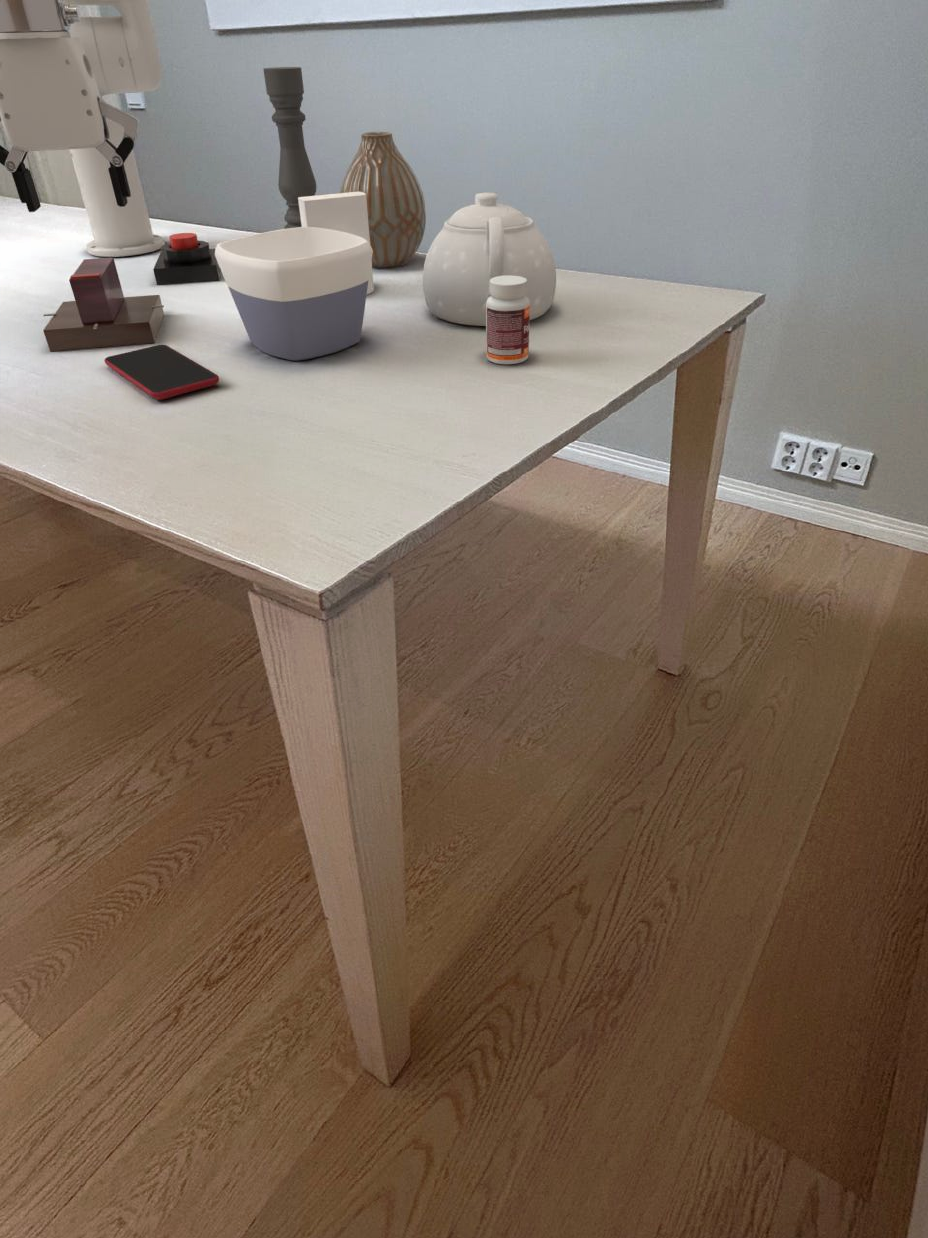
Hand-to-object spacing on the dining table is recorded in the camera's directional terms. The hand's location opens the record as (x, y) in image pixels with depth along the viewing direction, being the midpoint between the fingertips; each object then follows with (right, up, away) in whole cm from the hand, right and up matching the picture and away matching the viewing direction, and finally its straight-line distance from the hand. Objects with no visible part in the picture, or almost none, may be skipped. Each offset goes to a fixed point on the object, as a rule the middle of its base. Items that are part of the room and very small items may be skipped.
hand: (79, 207), depth 91 cm
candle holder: (+18, +15, +43) cm, 49 cm away
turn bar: (0, -9, +7) cm, 12 cm away
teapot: (+48, -7, +12) cm, 50 cm away
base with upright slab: (+27, -1, +22) cm, 35 cm away
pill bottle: (+49, -18, -2) cm, 52 cm away
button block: (+2, +6, +31) cm, 31 cm away
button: (+2, +9, +29) cm, 30 cm away
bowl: (+25, -15, +3) cm, 30 cm away
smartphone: (+11, -21, -4) cm, 24 cm away
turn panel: (0, -11, +8) cm, 14 cm away
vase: (+32, +9, +34) cm, 47 cm away
